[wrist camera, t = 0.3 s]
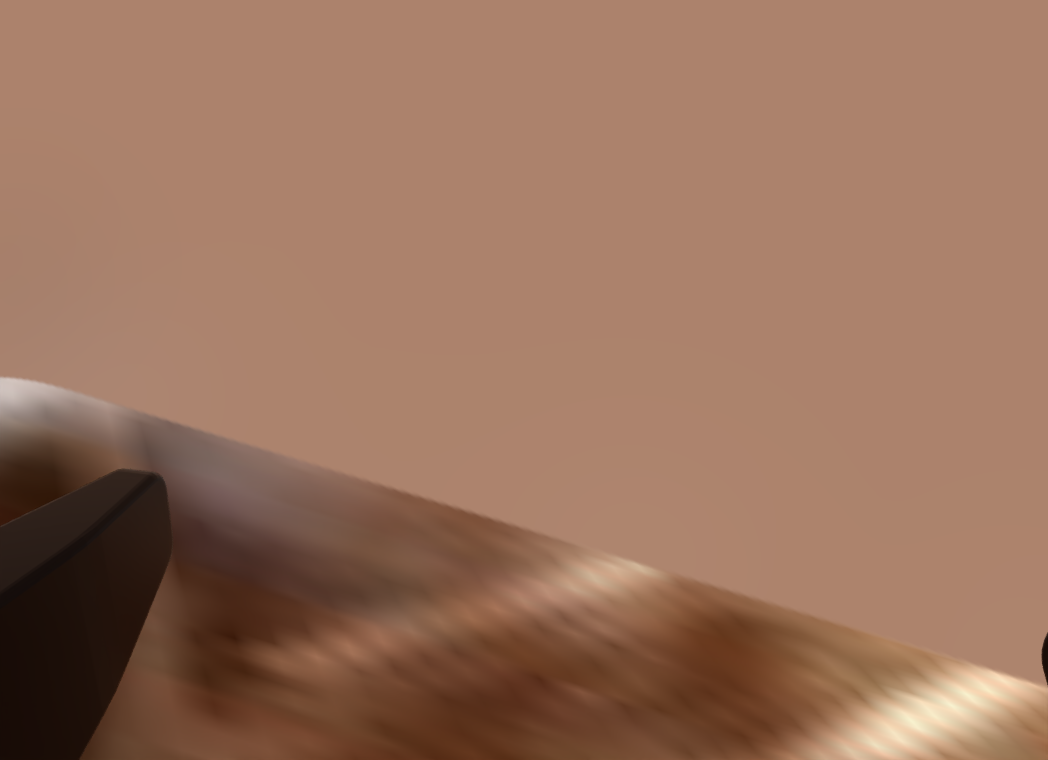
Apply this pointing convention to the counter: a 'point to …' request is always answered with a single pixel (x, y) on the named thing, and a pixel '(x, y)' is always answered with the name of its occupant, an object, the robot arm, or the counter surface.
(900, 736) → the counter surface
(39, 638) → the robot arm
